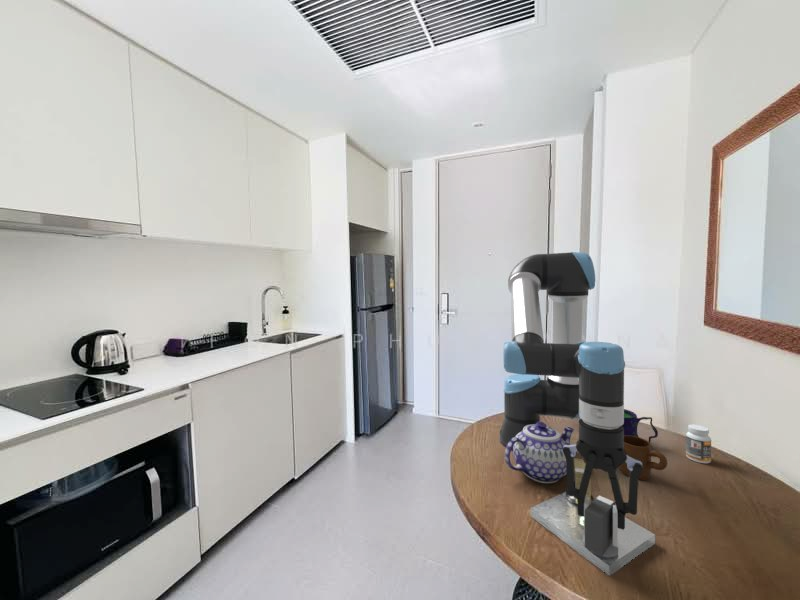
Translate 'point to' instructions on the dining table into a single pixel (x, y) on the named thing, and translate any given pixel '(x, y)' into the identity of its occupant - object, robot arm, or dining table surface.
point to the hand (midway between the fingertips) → (600, 536)
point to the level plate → (570, 529)
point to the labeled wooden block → (579, 471)
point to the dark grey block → (600, 527)
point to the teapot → (539, 452)
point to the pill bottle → (698, 444)
